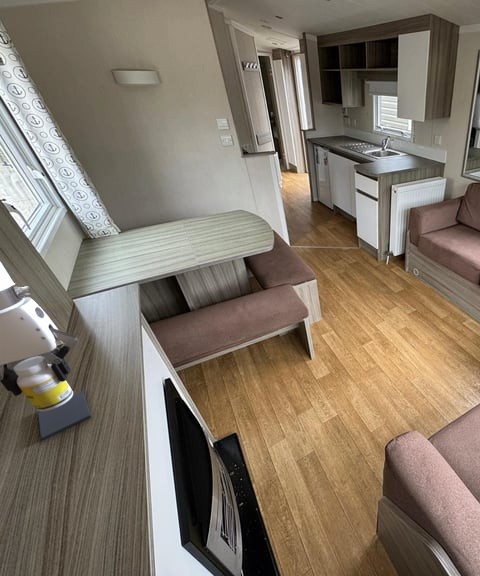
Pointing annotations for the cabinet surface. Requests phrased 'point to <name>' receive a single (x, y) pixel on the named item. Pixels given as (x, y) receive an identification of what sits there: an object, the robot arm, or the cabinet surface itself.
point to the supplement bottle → (42, 384)
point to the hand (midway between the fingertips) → (43, 383)
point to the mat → (64, 416)
